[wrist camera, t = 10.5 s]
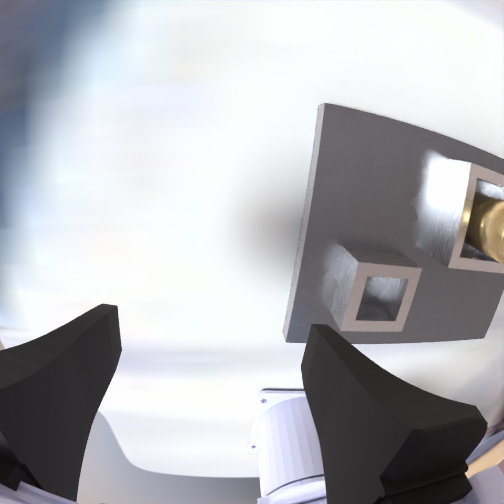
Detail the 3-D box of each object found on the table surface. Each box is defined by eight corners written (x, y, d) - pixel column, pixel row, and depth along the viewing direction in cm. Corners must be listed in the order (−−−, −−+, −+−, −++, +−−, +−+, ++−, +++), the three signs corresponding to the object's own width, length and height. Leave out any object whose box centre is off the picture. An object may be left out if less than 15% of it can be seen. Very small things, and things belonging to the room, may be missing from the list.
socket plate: (475, 330, 25) (498, 351, 21) (282, 330, 23) (290, 364, 20) (520, 170, 20) (551, 178, 16) (318, 105, 18) (337, 97, 15)
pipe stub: (484, 244, 20) (534, 272, 15) (449, 242, 20) (500, 272, 15) (493, 195, 19) (547, 213, 13) (458, 188, 19) (514, 206, 13)
